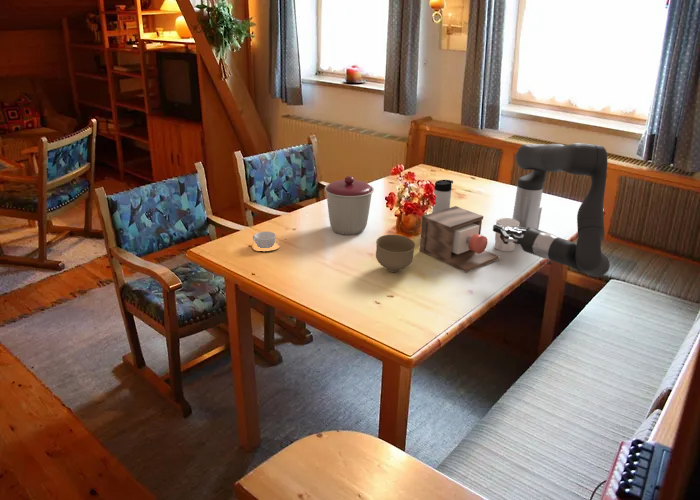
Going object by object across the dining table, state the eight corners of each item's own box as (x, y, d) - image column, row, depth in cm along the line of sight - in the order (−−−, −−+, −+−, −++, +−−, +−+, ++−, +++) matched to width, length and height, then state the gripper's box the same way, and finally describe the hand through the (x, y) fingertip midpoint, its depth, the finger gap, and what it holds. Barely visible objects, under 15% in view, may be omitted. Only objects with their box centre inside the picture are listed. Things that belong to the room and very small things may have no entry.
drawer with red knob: (489, 252, 196) (492, 230, 193) (470, 259, 190) (473, 237, 187) (461, 240, 205) (463, 219, 201) (442, 247, 199) (444, 225, 196)
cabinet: (498, 259, 198) (503, 223, 193) (466, 272, 188) (470, 235, 183) (452, 240, 213) (455, 206, 207) (419, 251, 203) (422, 216, 198)
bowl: (387, 281, 181) (389, 252, 177) (367, 265, 191) (368, 237, 187) (421, 274, 187) (423, 245, 183) (400, 259, 197) (401, 231, 193)
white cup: (516, 245, 210) (520, 219, 205) (514, 253, 203) (518, 227, 199) (494, 242, 212) (497, 216, 208) (491, 250, 205) (495, 224, 201)
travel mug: (447, 234, 217) (452, 183, 209) (430, 233, 218) (434, 182, 210) (448, 228, 223) (453, 178, 215) (431, 227, 224) (435, 177, 216)
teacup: (285, 245, 206) (284, 233, 204) (269, 255, 198) (269, 243, 196) (261, 240, 210) (260, 228, 208) (245, 250, 202) (244, 237, 200)
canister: (316, 234, 215) (316, 179, 207) (335, 218, 231) (336, 167, 222) (361, 242, 209) (363, 186, 201) (378, 225, 224) (381, 173, 216)
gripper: (555, 227, 175) (508, 212, 188) (530, 237, 168) (482, 220, 180) (552, 250, 178) (505, 233, 191) (526, 261, 171) (479, 242, 183)
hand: (494, 227), depth 185 cm, fingers closed
